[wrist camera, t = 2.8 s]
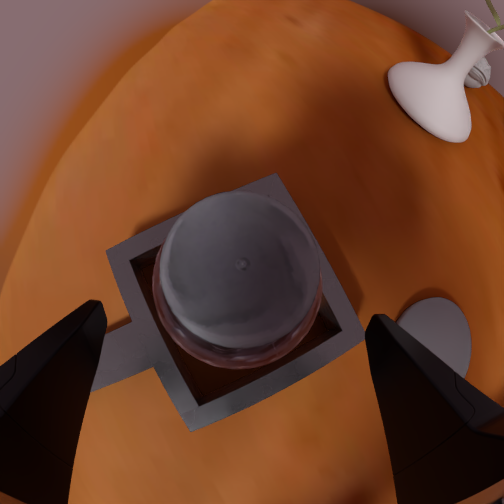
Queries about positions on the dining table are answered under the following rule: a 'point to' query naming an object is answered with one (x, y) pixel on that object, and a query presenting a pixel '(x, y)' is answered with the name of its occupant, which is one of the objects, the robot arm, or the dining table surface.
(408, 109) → the flower in vase
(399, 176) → the dining table surface
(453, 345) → the coaster
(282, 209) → the supplement bottle
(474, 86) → the lumpy white ball
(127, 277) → the square pan with handle
